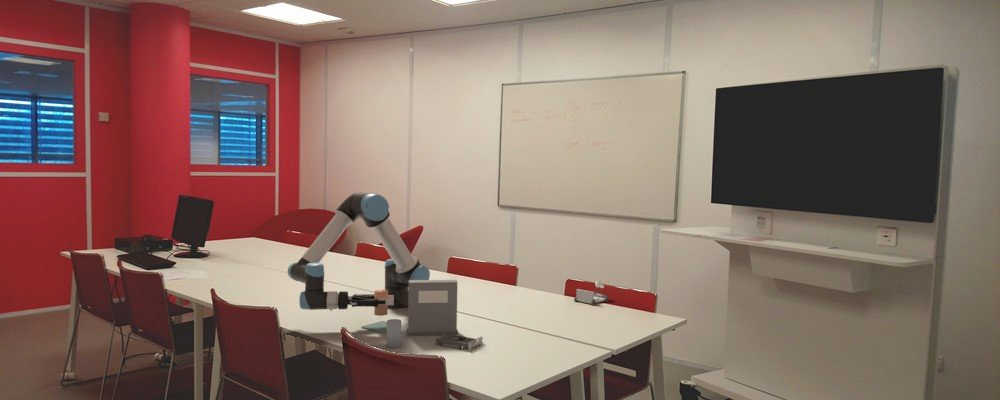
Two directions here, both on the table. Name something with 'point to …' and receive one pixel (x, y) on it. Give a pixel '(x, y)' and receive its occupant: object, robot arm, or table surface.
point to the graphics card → (459, 341)
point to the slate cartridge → (393, 333)
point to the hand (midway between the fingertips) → (393, 300)
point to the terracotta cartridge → (381, 309)
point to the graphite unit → (432, 307)
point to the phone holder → (591, 295)
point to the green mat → (377, 327)
